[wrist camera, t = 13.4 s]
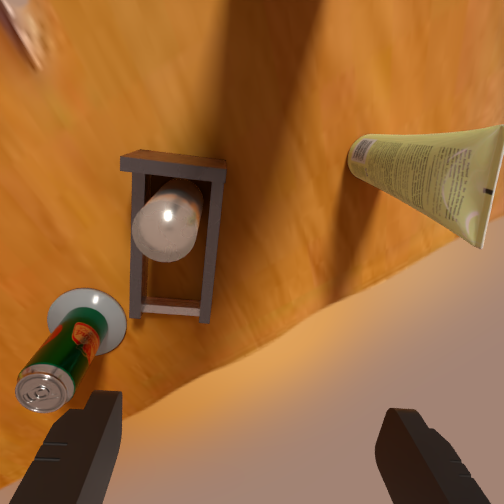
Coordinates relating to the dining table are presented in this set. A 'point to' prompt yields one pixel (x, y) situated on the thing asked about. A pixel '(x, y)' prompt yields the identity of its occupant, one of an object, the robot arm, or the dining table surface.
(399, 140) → the tube
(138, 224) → the grey metal cylinder
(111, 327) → the grey disc
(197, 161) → the can rack
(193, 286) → the dining table surface
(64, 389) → the soda can
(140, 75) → the dining table surface
